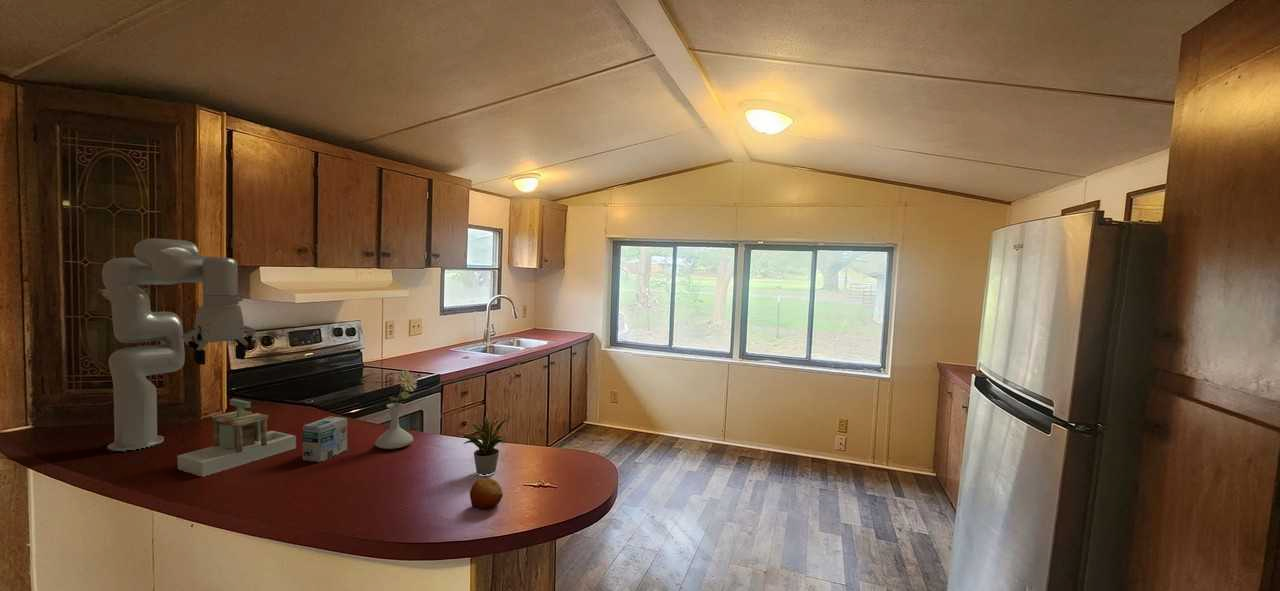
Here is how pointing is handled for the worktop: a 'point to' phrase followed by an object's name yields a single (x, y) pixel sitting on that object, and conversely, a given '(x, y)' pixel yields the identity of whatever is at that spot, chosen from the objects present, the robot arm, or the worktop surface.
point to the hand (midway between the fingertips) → (220, 361)
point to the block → (247, 436)
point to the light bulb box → (324, 438)
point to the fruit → (485, 494)
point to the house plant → (486, 447)
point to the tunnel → (239, 426)
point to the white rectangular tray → (234, 455)
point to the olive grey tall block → (229, 431)
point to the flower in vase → (395, 434)
